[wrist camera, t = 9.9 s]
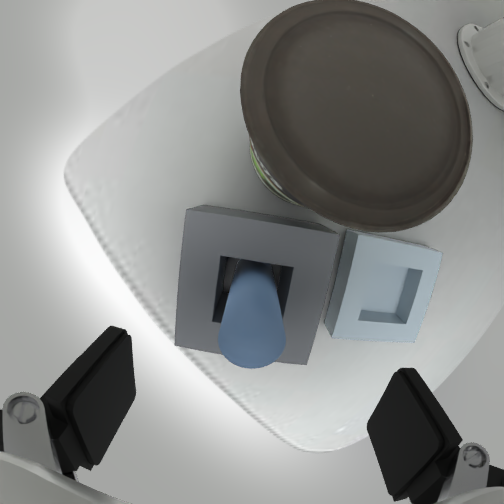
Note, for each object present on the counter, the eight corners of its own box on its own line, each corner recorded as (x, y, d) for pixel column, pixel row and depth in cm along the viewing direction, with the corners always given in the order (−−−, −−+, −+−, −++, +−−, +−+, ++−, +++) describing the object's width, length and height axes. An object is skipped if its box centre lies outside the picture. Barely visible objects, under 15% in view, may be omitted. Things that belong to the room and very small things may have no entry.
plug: (275, 256, 24) (292, 316, 12) (268, 291, 25) (278, 371, 13) (238, 250, 24) (222, 305, 12) (233, 285, 25) (214, 362, 13)
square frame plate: (426, 246, 24) (443, 252, 21) (401, 329, 26) (414, 342, 23) (346, 229, 24) (358, 234, 21) (324, 322, 25) (331, 337, 23)
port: (320, 224, 23) (339, 234, 18) (296, 329, 26) (306, 365, 20) (203, 204, 23) (186, 209, 17) (191, 312, 25) (174, 345, 20)
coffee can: (257, 214, 23) (257, 247, 10) (243, 97, 21) (227, -3, 8) (372, 203, 23) (483, 223, 9) (357, 93, 21) (442, 20, 7)
